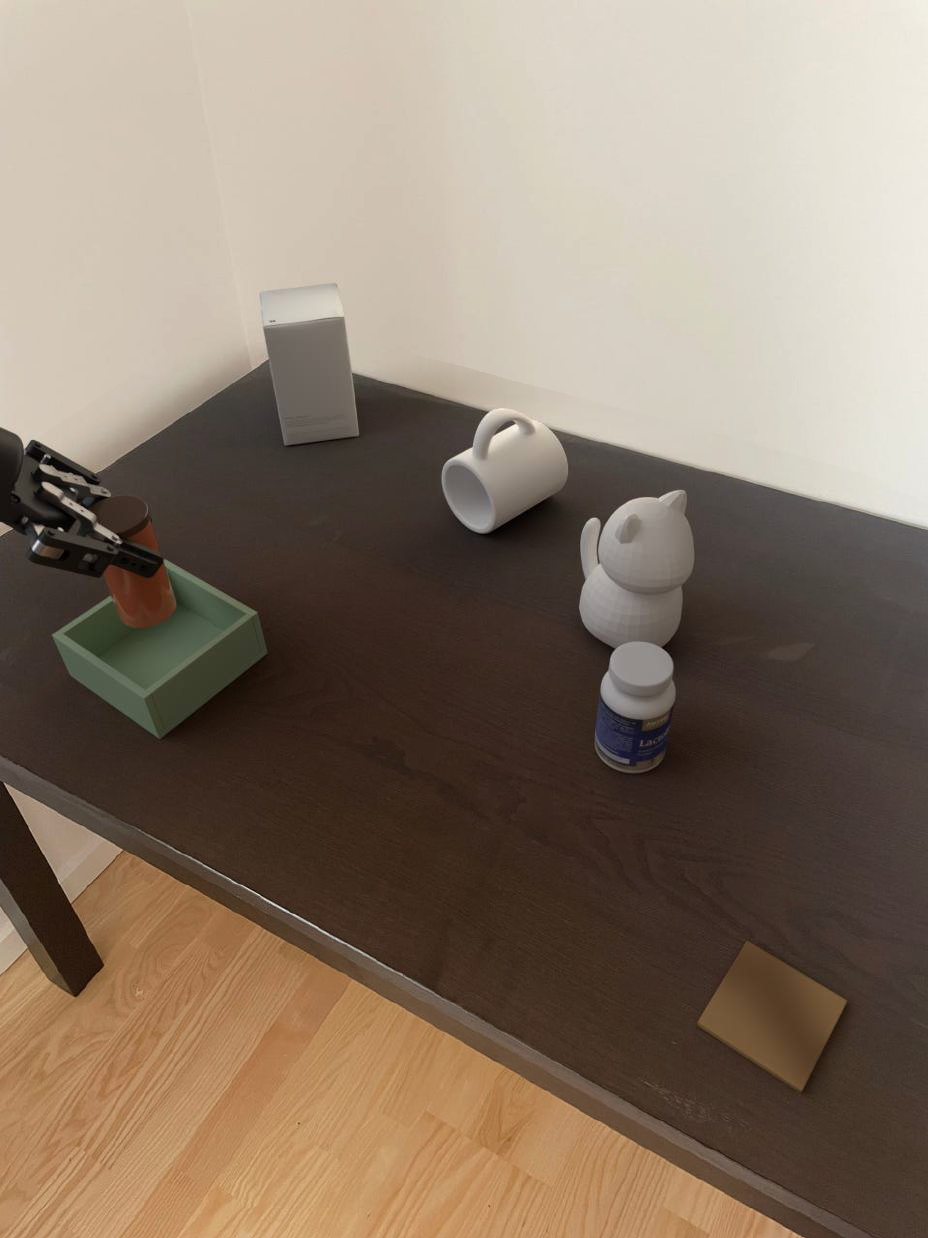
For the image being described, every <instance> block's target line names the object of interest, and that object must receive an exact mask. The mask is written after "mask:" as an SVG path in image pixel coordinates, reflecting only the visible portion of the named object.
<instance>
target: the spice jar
mask: <svg viewBox="0 0 928 1238" xmlns="http://www.w3.org/2000/svg"><path fill="white" fill-rule="evenodd" d="M87 510H89V511H90V512H92V513H93V514H95V515H96V517H97V522H98V524H100V525H101V526H103V527H105V528H106V529H108V530H110V531H111V532H113V533H115V534H116V535H118V536H119V537H120V538H121V537H124V538H126V539H129V540H131V541H133V542H136V543H138V544H141V545H143V546H146V547H148V548H151V549H153V550H155V551H158V552H160V553H161V554H162V552H161V549H160V545H159V542H158V539H157V536H156V533H155V529H154V526H153V522H152V523H151V520H150V515H151V512H150V509H149V506H148V504H147V502H146V501H145V500H143V499H142V498H140V497H137V496H135V495H128V494H125V495H123V494H122V495H114V496H111V497H109V498H106V499H103V500H101V501H99V502H97V503H95V504H93V505H92V506H91V507H89V508H88V509H87ZM87 536H88V538H90V539H93V540H97V541H101V542H103V541H102V540H100V539H99V538H97V537H95V536H94V535H92V534H88V535H87ZM102 576H103V578H104V581H105V583H106V586H107V589H108V591H109V592H108V593H109V594H110V596H111V597H112V600H113V602H114V605H115V608H116V610H117V613H118V616H119V618H120V620H121V621H122V622H123V623H124V624H126V625H127V626H130V627H135V628H146V627H151V626H154V625H157V624H159V623H161V622H163V621H165V620H166V619H167V618H169V617H170V616H171V615H172V613H173V612H174V610H175V608H176V599H175V596H174V593H173V589H172V586H171V583H170V580H169V577H168V573H167V570H166V567H165V564H164V562H163V564H162V565H161V567H160V568H159V570H158V571H157V572H156V574H155V575H154V576H153V577H151V578H145V577H143V576H140V575H137V574H135V573H132V572H130V571H127V570H125V569H122V568H119V567H117V566H114V565H109V566H108V568H107V569H106V570H105V572H104V573H103V575H102Z"/></svg>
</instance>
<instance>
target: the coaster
mask: <svg viewBox="0 0 928 1238" xmlns="http://www.w3.org/2000/svg"><path fill="white" fill-rule="evenodd" d="M847 1003H848V1000H847V999H845V998H844V997H842V996H840V995H839V994H837V993H836V992H833V991H832V990H831V989H828V988H827V987H825V986H823V985H822V984H820V983H818V982H817V981H815V980H814V979H812V978H810V977H809V976H807V975H805V974H804V973H802V972H800V971H799V970H797V969H796V968H794V967H792V966H791V965H789V964H787V963H785V962H784V961H782V960H780V959H779V958H777V957H775V956H773V955H772V954H770V953H769V952H767V951H765V950H764V949H762V948H760V947H759V946H757V945H756V944H753V942H751V941H749V940H746V941H745V942H744V944H743V946H742V948H741V949H740V951H739V952H738V954H737V956H736V958H735V959H734V961H733V963H732V964H731V966H730V968H729V969H728V971H727V972H726V974H725V976H724V977H723V979H722V981H721V982H720V985H719V986H718V987H717V989H716V991H715V993H714V994H713V996H712V997H711V999H710V1000H709V1002H708V1004H707V1006H706V1007H705V1009H704V1010H703V1012H702V1014H701V1016H700V1017H699V1019H698V1021H697V1023H696V1026H698V1028H699V1029H702V1031H705V1032H706V1033H708V1034H709V1035H710V1036H712V1037H714V1038H715V1039H717V1040H718V1041H720V1042H721V1043H723V1044H724V1045H726V1046H727V1047H729V1048H730V1049H732V1050H734V1051H735V1052H736V1053H739V1055H741V1056H742V1057H744V1058H746V1059H747V1060H749V1061H750V1062H751V1063H753V1064H755V1065H756V1066H757V1067H759V1068H760V1069H762V1070H764V1072H766V1073H768V1074H770V1075H771V1076H773V1078H776V1079H777V1080H779V1081H780V1082H782V1083H783V1084H784V1085H786V1086H788V1087H789V1088H791V1089H792V1090H794V1091H795V1092H797V1093H799V1094H802V1093H803V1091H804V1088H805V1087H806V1085H807V1082H808V1081H809V1079H810V1077H811V1074H812V1072H813V1071H814V1069H815V1067H816V1065H817V1063H818V1061H819V1059H820V1057H821V1055H822V1053H823V1051H824V1049H825V1047H826V1045H827V1043H828V1041H829V1040H830V1037H831V1035H832V1033H833V1032H834V1029H835V1027H836V1025H837V1023H838V1021H839V1019H840V1017H841V1015H842V1014H843V1011H844V1010H845V1007H846V1005H847Z"/></svg>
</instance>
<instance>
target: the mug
mask: <svg viewBox="0 0 928 1238" xmlns="http://www.w3.org/2000/svg"><path fill="white" fill-rule="evenodd" d="M511 421H513V423H514V424H513V425H511V426H509V427H507V428H505V429H504V430H500V432H498V433H496V432H497V431H498V429H500V428H501V427H502V426H503V425H504V424H506V423H507V422H511ZM568 464H569V463H568V459H567V455H566V453H565V450H564V448H563V445H562V443H561V442H560V440H559V438H558V437H557V436H556V435H555V434H554V432H553V431H552V430H551V429H550V428H549V427H548V426H546V425H545V424H543V423H542V422H540V421H537V420H535V419H530V418H529V417H527V416H526V415H525V414H523V413H522V412H520V411H517V410H515V409H512V408H505V407H500V408H494V409H493V410H490V411H489V412H487V413H486V414H485V415H484V416H483V418H481V421H480V422H479V424H478V426H477V429H476V431H475V434H474V437H473V442H472V447H469V448H467V449H466V450H464V451H463V452H461V453H459V454H456V455H455V456H453V457H451V458H450V459H448V460H447V461H446V462H445V464H444V465H443V467H442V470H441V486H442V491H443V494H444V497H445V500H446V501H447V504H448V506H449V508H450V510H451V511H452V512H453V515H454V516H455V517H456V518H457V519H458V520H459V522H460V523H461V524H462V525H463V526H464V527H466V528H467V529H469V530H470V531H472V532H474V533H477V534H481V535H482V534H483V535H484V534H485V535H486V534H489V533H491V532H493V531H495V530H496V529H498V528H499V527H501V526H503V525H505V524H507V523H508V522H510V521H511V520H513V519H515V518H516V517H518V516H520V515H521V514H523V513H524V512H526V511H527V510H530V509H531V508H533V507H535V506H536V505H537V504H540V503H541V502H543V501H545V500H546V499H548V498H550V497H551V496H553V495H555V494H556V493H558V492H559V491H561V490H562V489H563V488H564V486H565V485H566V482H567V480H568V477H569V465H568Z"/></svg>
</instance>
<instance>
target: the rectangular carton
mask: <svg viewBox="0 0 928 1238" xmlns="http://www.w3.org/2000/svg"><path fill="white" fill-rule="evenodd" d="M259 302H260V303H259V304H260V311H261V313H260V314H261V322H262V331H263V337H264V341H265V347H266V351H267V358H268V363H269V368H270V369H269V370H270V374H271V379H272V384H273V390H274V396H275V401H276V407H277V411H278V412H277V413H278V418H279V423H280V428H281V435H282V439H283V444H284V446H292V445H301V444H308V443H315V442H322V441H331V440H338V439H347V438H353V437H359V436H360V431H359V421H358V413H357V404H356V395H355V388H354V379H353V369H352V363H351V354H350V347H349V339H348V332H347V323H346V318H345V313H344V309H343V303H342V301H341V295H340V291H339V288H338V284H337V283H336V282H333V283H322V284H315V285H308V286H306V285H305V286H298V287H290V288H289V287H288V288H280V289H271V290H269V289H268V290H264V291H260V292H259Z"/></svg>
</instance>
